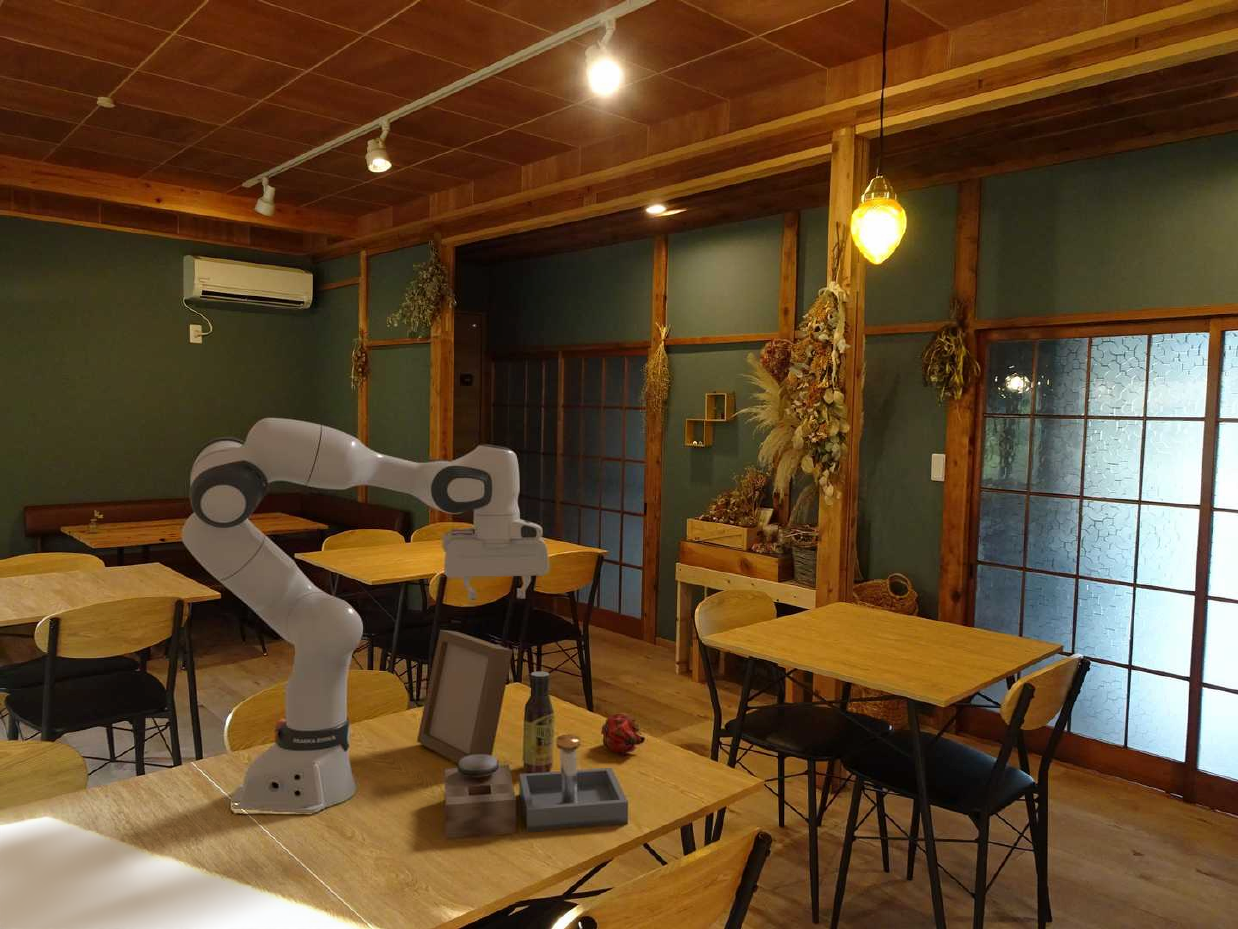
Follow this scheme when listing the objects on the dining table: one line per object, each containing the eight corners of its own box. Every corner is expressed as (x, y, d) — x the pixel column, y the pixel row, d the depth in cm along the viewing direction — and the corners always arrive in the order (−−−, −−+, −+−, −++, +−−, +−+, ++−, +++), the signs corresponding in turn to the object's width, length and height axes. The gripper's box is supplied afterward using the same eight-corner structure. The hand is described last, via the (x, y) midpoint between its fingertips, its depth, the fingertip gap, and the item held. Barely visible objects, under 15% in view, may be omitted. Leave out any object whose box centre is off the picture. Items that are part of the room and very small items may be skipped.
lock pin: (559, 809, 166) (558, 744, 164) (556, 798, 170) (554, 735, 169) (583, 806, 166) (582, 742, 165) (579, 795, 171) (578, 733, 170)
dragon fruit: (613, 746, 204) (633, 773, 193) (585, 729, 201) (604, 756, 190) (635, 715, 205) (657, 741, 194) (608, 698, 201) (628, 723, 190)
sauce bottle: (539, 777, 182) (539, 680, 181) (516, 770, 186) (516, 674, 185) (560, 767, 187) (560, 673, 186) (537, 760, 191) (538, 667, 190)
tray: (527, 832, 158) (527, 809, 158) (519, 794, 174) (519, 774, 174) (627, 824, 162) (628, 802, 162) (611, 787, 178) (611, 767, 177)
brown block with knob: (445, 839, 156) (445, 790, 155) (445, 800, 171) (445, 755, 171) (515, 833, 158) (515, 785, 157) (508, 795, 174) (508, 751, 173)
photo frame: (471, 775, 183) (472, 653, 182) (416, 746, 199) (417, 633, 198) (530, 758, 193) (531, 642, 192) (473, 731, 209) (474, 624, 208)
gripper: (442, 531, 170) (442, 604, 171) (550, 529, 174) (550, 600, 175) (442, 527, 176) (442, 597, 177) (546, 525, 180) (546, 594, 181)
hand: (496, 599), depth 176 cm, fingers open, 8 cm apart
